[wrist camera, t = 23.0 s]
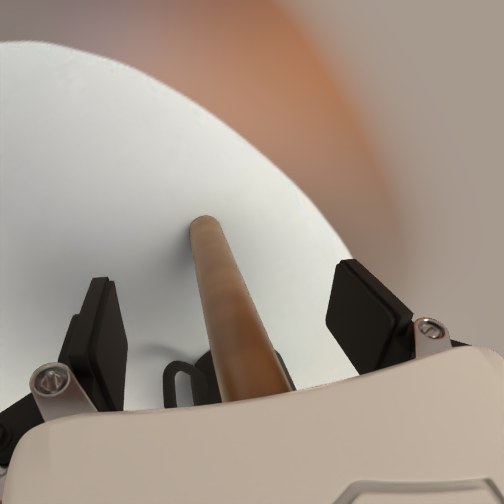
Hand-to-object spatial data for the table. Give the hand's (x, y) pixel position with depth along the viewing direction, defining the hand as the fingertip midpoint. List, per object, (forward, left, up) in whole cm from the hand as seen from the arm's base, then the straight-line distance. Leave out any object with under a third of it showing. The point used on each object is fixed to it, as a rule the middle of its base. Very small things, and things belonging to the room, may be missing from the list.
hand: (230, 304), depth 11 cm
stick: (+1, 0, -9) cm, 9 cm away
